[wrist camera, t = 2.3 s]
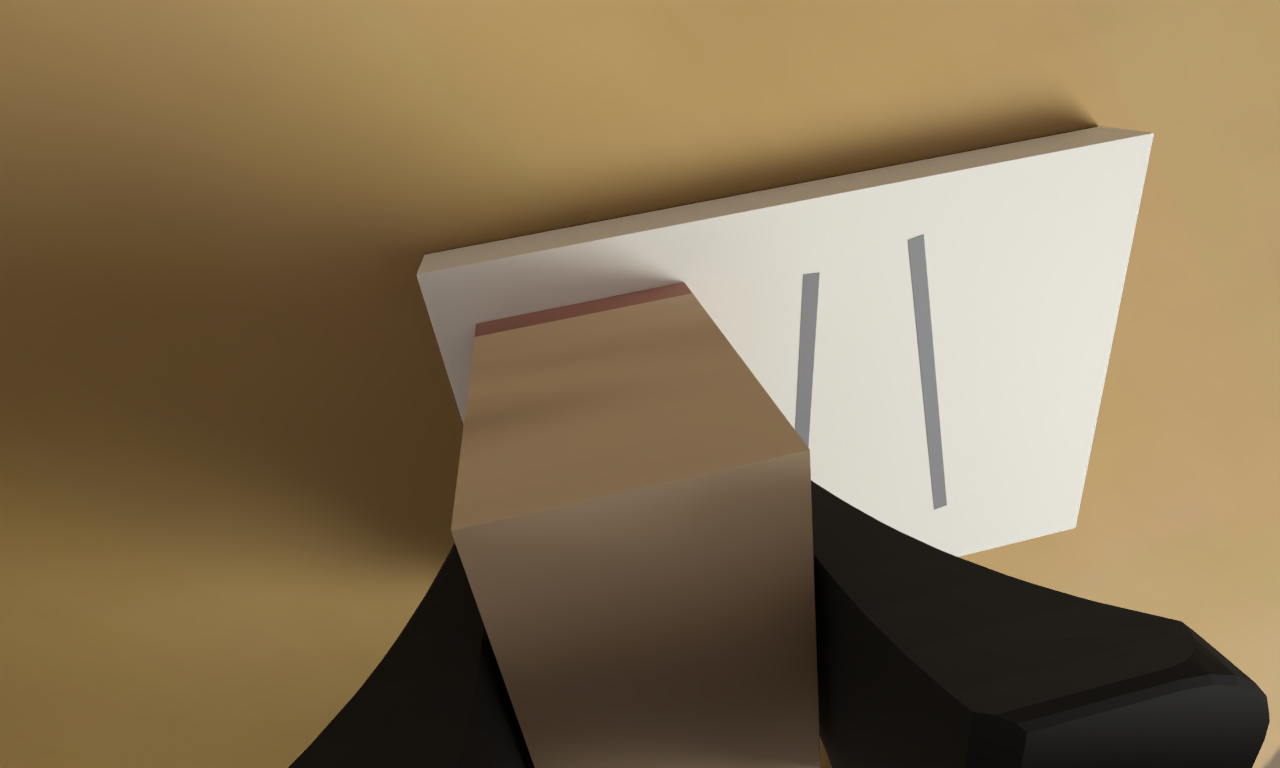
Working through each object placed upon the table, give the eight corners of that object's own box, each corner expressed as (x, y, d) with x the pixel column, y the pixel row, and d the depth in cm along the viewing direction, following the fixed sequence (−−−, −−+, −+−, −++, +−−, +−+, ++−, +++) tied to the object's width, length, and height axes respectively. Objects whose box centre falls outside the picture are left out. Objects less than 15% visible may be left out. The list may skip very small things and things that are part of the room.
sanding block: (720, 582, 15) (822, 841, 10) (559, 620, 15) (584, 907, 10) (684, 282, 12) (809, 449, 7) (475, 323, 11) (451, 530, 6)
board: (1040, 498, 17) (1075, 528, 16) (535, 619, 16) (537, 661, 15) (1100, 126, 13) (1154, 133, 12) (424, 254, 12) (415, 275, 11)
